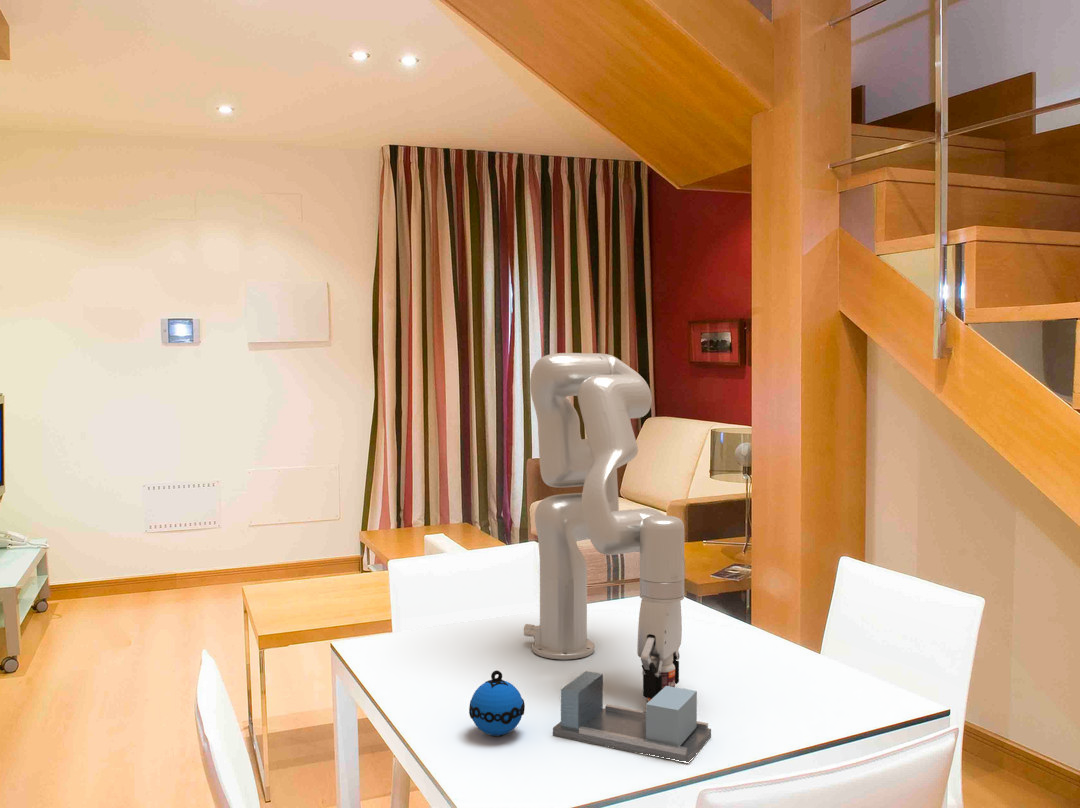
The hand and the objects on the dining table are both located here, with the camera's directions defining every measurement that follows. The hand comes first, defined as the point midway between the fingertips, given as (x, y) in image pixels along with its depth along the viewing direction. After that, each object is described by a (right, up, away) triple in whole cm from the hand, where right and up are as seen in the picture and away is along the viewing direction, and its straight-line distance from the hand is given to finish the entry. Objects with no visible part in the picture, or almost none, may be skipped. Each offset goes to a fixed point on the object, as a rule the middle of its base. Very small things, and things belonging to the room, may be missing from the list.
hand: (661, 689), depth 156 cm
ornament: (-28, -3, -14) cm, 31 cm away
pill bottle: (0, -2, 0) cm, 2 cm away
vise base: (-7, -3, -14) cm, 16 cm away
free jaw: (-1, -1, -18) cm, 18 cm away
